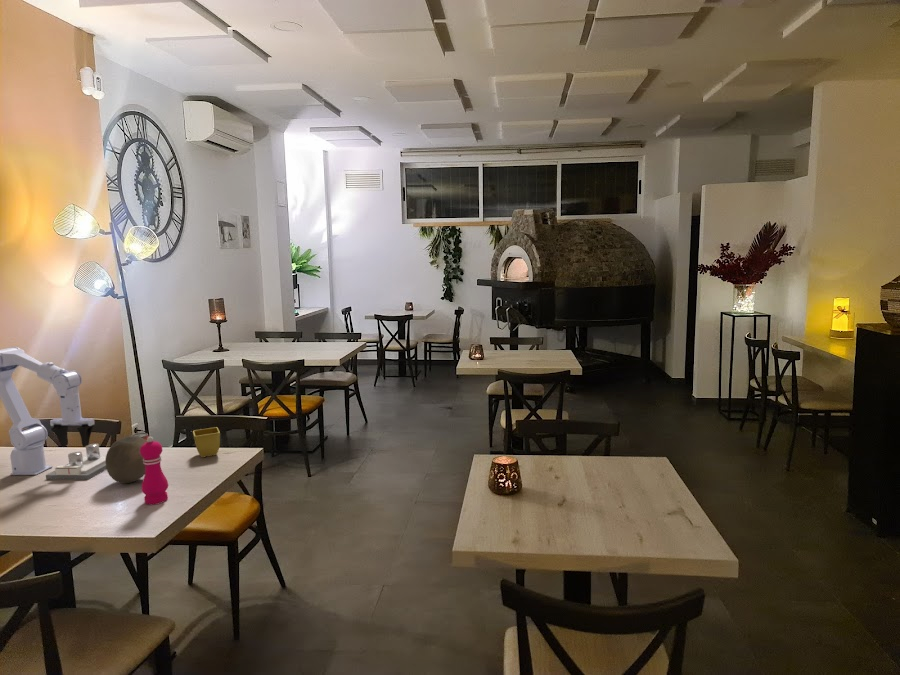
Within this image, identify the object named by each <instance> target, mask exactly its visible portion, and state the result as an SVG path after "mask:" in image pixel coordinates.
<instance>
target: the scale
mask: <svg viewBox="0 0 900 675" xmlns="http://www.w3.org/2000/svg"><path fill="white" fill-rule="evenodd" d="M82 458H83V466H84V467H82V468H81V466H69V463H67V464H65V465H57V466H55V467H54V470H53V471H51V472H50V473H49V472H48V473H47V474H45V479H46V480H90V479H92V478H93V477H95V475H96V476H97V475H99V474H101V473H103V472H105V471H107V468H106V461H105V460H106V456H100V459H97V460H93V461H88V460H87V456H82ZM102 471H103V472H102ZM100 472H101V473H100Z"/></svg>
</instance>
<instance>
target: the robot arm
mask: <svg viewBox="0 0 900 675" xmlns="http://www.w3.org/2000/svg"><path fill="white" fill-rule="evenodd" d="M19 367H22V368H24V369H27V370H30V371H32V372H35V373H36V376H37V378H40V379H42V380H44V381H46V382H48V383H49V384H52V385H53V387H54V389H55V391H56V395H57V396H58V398H59V405H60V406H59V407H60V413H61V414H60V415H61V418H54V419H51V420H49V422H50V423H49V424H50V427H52V428H51V429H50V430H51V432H53V434H54V435H55V436H56V438H57V439H58V441H59V443H60V445H61V447H63V448H64V447H66V446H68V444H69V440H68V432H69V431H68V429H69V426H78V427H77V430H78V433H79V435H80V438H81V439H80V440H81V445H82V447H83V448H84V447H85V448H86V446H87V445H89V444H90V438H91V434H92V431H93V430H94V427H95V418H87V417H82V408H81V400H80V392H79V386H80V385H81V384H82V380H83V379H82V376H81V374H80V373H79V372H78V371H76V370H75V369H73V370H66V368H63V367H62V368H61V367H60V366H57V365H55V363H54V362H52V361H50V362H41V361H40V360H38V359H36V358H34V357H33V356H31V355H29V354H27V353H26V351H25V350H24V349H22V348H20V347H18V346H11V347H8V348H2V349H0V401H1V402H2V404H3V406H4V408H5V410H6V412H7V415H8V417H9V418H10V420H11V422H12V425H11V426H10V428H9V430H8V434H9V437H10V438H9V440H10V443H11V445H12V446H13V447H14V448H13V449H12V450H11V452H10V463H11V464H10V465H11V471H12V472H11V473H10V475H11V476H15V475H16V476H17V475H18V476H20V475H21V476H30V475H31V476H36V475H39V474H41V473H42V472H44V471H47V470H49V469H52V467H53V465H47V464H46V456H45V448H44V444H46V443H45V442H46V440H47V438H48V436H49V435H48V434H49V433H48V430H47V428H46V427H45V426H44V425H43V424H42V423H41V420H40V419H37V418H34V417H32V416H31V413H30V412H29V410H28V408H27V406H26V404H25V401H24V400H23V397H22V395H21V394H20V392H19V391H20V390H19V389H18V388H17V385H16V382H15V381H14V380H13V377H12V376H13V374H14V372H16V370H17V369H18V368H19Z"/></svg>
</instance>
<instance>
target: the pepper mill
mask: <svg viewBox="0 0 900 675" xmlns="http://www.w3.org/2000/svg"><path fill="white" fill-rule="evenodd" d="M162 453H163V446H162V444H161V443H160V442H159V441H157V440H154V437H153V436H149V437H148V438H147V442H146V443H144V444H143V445H142V446H141V448H140V454H141V456H142V457H143V464H145V475H144V476H143V477H144V478H143V479H142V482H141V492H142V493H143V494H144V495H145V496H144V497H143V499H144V504H146V505H150V504H152V505H159V504H161V502H162V503H164V502H166V501H167V500H168V497H169V496H168V492H167V491H166V490H168V487H169V483H168V482H169V481H168V480H167V479H168V478H167V477H166V476H165V473H164V472H163V470H162V467H161V462H162V456H161V454H162ZM163 501H164V502H163ZM158 503H159V504H158Z"/></svg>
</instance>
